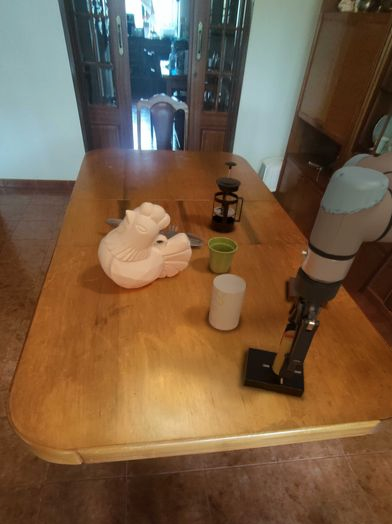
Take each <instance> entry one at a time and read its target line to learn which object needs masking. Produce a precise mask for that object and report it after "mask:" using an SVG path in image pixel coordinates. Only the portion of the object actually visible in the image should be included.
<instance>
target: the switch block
mask: <svg viewBox="0 0 392 524" xmlns="http://www.w3.org/2000/svg"><path fill="white" fill-rule="evenodd" d="M295 278H296V277H294V276H289V279H288V282H287V301H288V302H291V303H293V301H294V299H295V297H296V294H297V292H296V291H295V289H294V281H295ZM328 303H329V301H328V302H324V303H322V304H320V305H322V308H326V307H327V305H328Z"/></svg>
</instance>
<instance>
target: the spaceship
mask: <svg viewBox="0 0 392 524" xmlns="http://www.w3.org/2000/svg"><path fill="white" fill-rule="evenodd" d="M123 220H124V219H120V218H116V217H106V218H105V219H104V222H105V224H106V225H108V226H110V227H112V228H117V227H118V226H119V224H120V223H121V222H122V221H123ZM178 227H179V226H177V225H176V226H175V225H174V224H173V225H172V224H169V225H168V230H167V231H166V232H164V231H163V229H162V230H160V231H159V233H158V234H162V235H164V236H165V237H166V238H167V240H168V239H170V238H171V237H173V236H175V235H177V234H178ZM184 233H185V234H186V235H187V237H188V239H189V241H190V247H202V246H204V242H205V240H204V239H202V238H201V237H199V236H197V235H195V234H194V233H191V232H184Z"/></svg>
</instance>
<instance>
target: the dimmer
mask: <svg viewBox="0 0 392 524" xmlns="http://www.w3.org/2000/svg"><path fill="white" fill-rule="evenodd" d="M276 355H277V352H275V351H270V350H264V349H261V348H260V349H259V348H256V347H248V349H247V353H246V360H245V366H244V373H243V380H242V381H243V382H242V386H244V387H248V388H253V389H258V390H262V391H268V392H272V393H278V394H282V395H286V396H292V397H297V398H302V396H303V395H304V392H305V373H304V369H305V368H304V364H303V365H299V364H298V366H297V368H296V370H295V372H294V374H293V376H292V378H287V377H282V376H279V375H277V374H276V373H275V372H274V371H273V369H272V366H273V363H274V360H275V358H276Z"/></svg>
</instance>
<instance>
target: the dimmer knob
mask: <svg viewBox="0 0 392 524" xmlns="http://www.w3.org/2000/svg"><path fill="white" fill-rule="evenodd" d="M294 333H295V331H292V330H291V331H287V332H285V334H284V333H283V334H284V336H283V335H282V337H283V339H282V338H281V339H282V341H281V340H280V342H281V344H280V343H279V347H278V349H277V352H276V353H277V355H276V358H275V360H274V363H273V366H272V369H273V371H274V372H275V373H276V374H277V375H279V371H280V369H281V367H282V364H283V362H284V359H285V357H284V354H285V353H287V352H288V353H289V351H290V347H291V343H292V340H293V336H294Z"/></svg>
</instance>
